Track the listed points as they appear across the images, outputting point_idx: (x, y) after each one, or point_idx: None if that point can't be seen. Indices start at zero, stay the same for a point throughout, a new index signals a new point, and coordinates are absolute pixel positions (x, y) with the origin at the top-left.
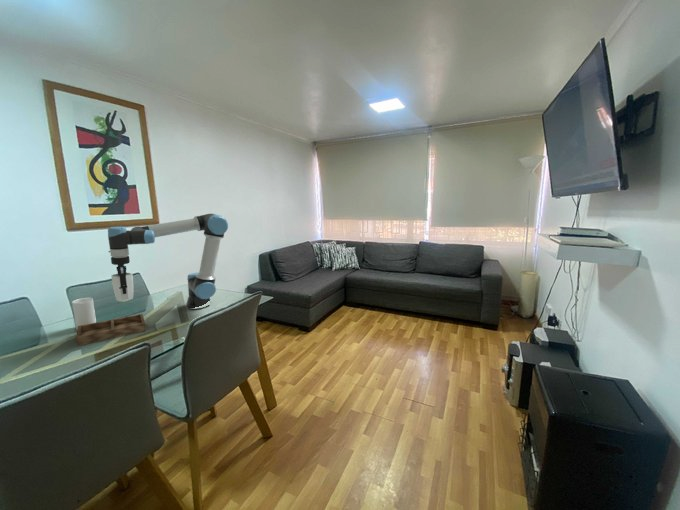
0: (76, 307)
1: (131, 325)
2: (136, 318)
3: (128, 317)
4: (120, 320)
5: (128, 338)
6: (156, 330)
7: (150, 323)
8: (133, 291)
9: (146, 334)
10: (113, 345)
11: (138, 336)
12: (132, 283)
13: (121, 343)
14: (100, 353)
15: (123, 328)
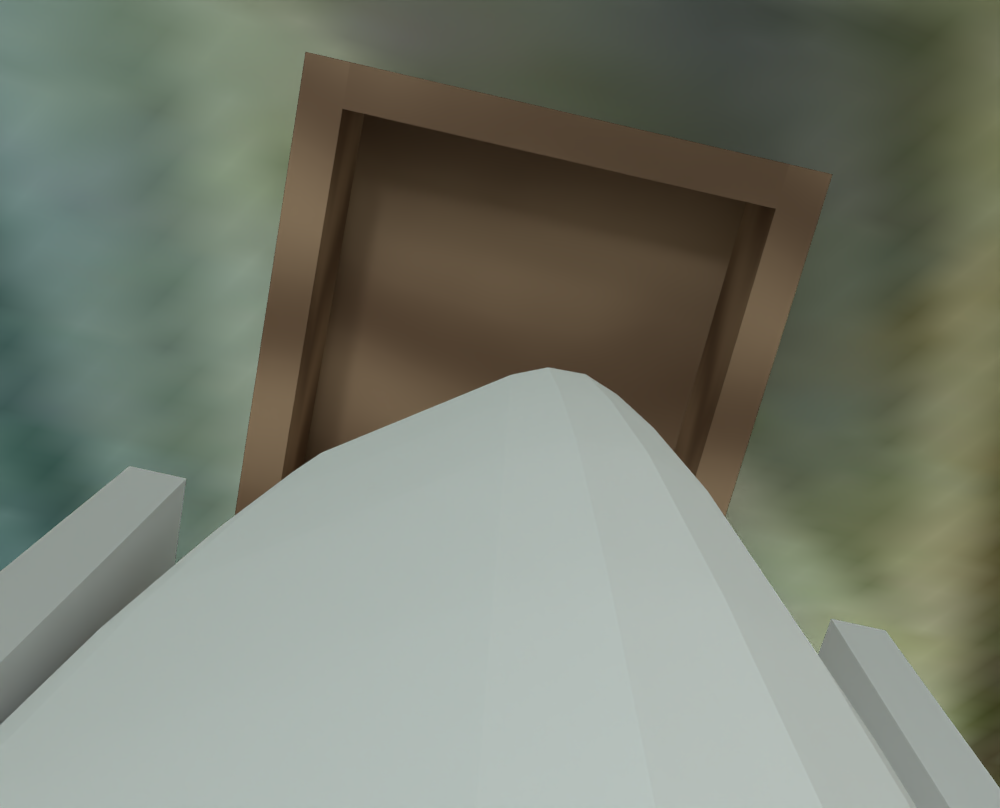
0: None
1: (752, 381)
2: (342, 174)
3: (312, 301)
4: (300, 412)
5: (858, 437)
6: (934, 41)
7: (562, 11)
8: (627, 425)
9: (944, 214)
10: (907, 618)
11: (911, 321)
12: (882, 771)
13: (935, 540)
14: (993, 759)
15: (726, 487)
